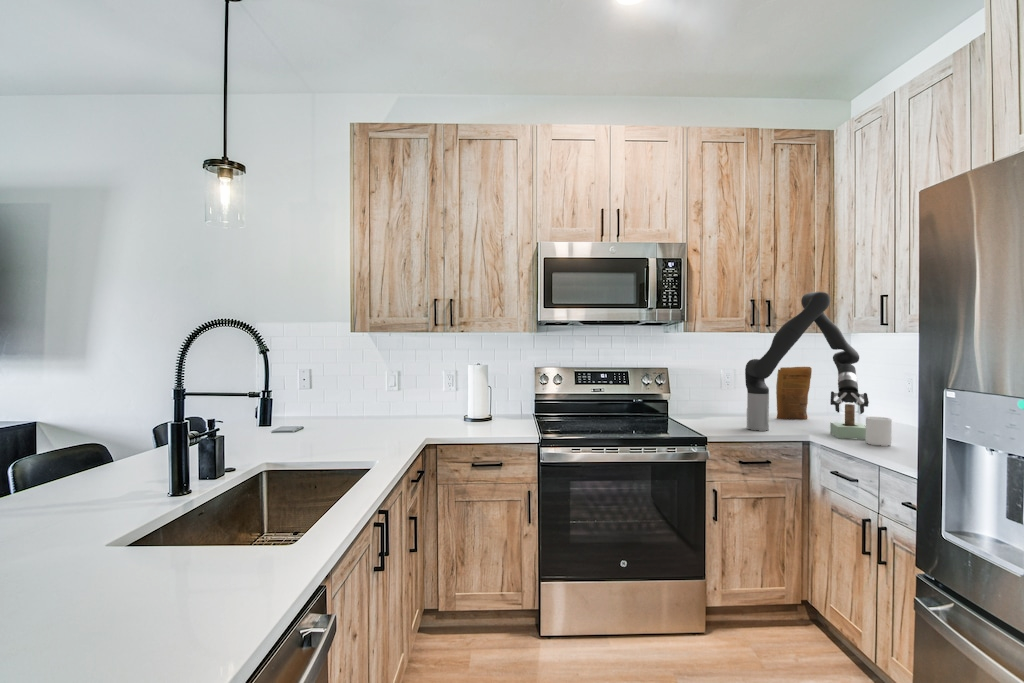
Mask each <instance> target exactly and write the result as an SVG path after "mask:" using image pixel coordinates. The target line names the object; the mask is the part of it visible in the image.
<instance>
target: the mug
mask: <svg viewBox="0 0 1024 683" xmlns="http://www.w3.org/2000/svg"><path fill="white" fill-rule="evenodd" d="M892 420H893V419H892V418H889V417H884V416H865V426H866V440H865V443H866V444H867V443H868V445H870V444H872V445H871V446H875V445H881V446H880V447H889V446H888V445H890V446H891V445H892V436H893V435H892V432H893V431H892V429H893V428H892V427H893V426H892V425H893V424H892Z"/></svg>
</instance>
